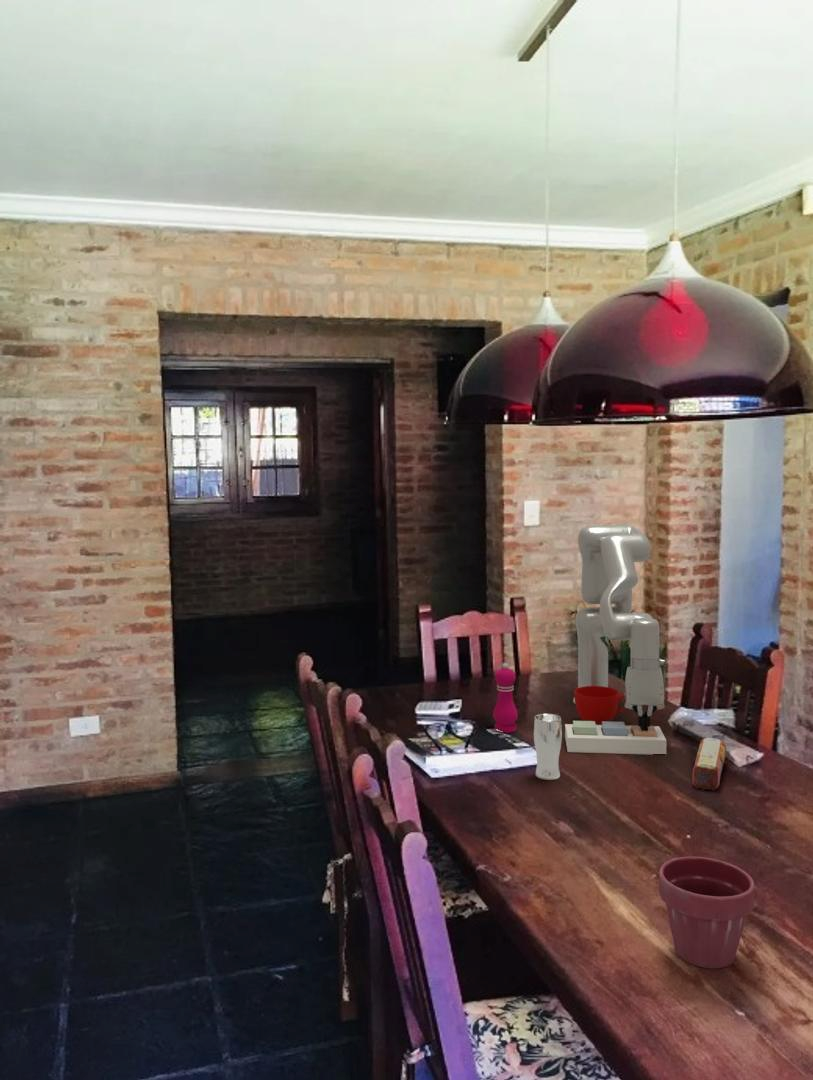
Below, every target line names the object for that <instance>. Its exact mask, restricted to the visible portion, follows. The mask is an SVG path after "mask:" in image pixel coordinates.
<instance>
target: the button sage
mask: <svg viewBox="0 0 813 1080" xmlns="http://www.w3.org/2000/svg"><path fill="white" fill-rule="evenodd" d="M572 724H573V732H574V735H597V727H596V724H595V721H583V720H572Z"/></svg>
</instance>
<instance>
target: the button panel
mask: <svg viewBox="0 0 813 1080" xmlns="http://www.w3.org/2000/svg"><path fill="white" fill-rule="evenodd" d="M625 726H626V728H627V736H604V735H603V732H602V725H596V727H597V735H574V732H573V723H572V724H571V723H564V739H565V743H566V744H565V746H566V750H567V752H568V753H585V754H586V753H589V754H621V755H622V754H624V755H625V754H626V755H627V754H628V755H653V754H666V755H667V739H666V737H665V735H664V733H663V731H662V729H661V727H660V726H659V725H658V726H657V725H655V726H654V725H653V726H654V728H655V730H656V732H657V737H642V736H633V735H632V732H631V725H625Z"/></svg>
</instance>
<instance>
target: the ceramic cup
mask: <svg viewBox="0 0 813 1080" xmlns="http://www.w3.org/2000/svg"><path fill="white" fill-rule="evenodd" d="M573 695H574V697H575V703H574V705H575V709H576V712H577V714H578V716H579V718H580V719H581V721H595V724H596V725H602V721H607V722H612V720H613V719H614V718H615V716H616V715H617V714H620V713H622V712H623V713H624V711H626V710H628V708H625V706H624V707H623V708H620V709H618V705H619V703H620V701H621V700H622V699H623V698H624V699H625V694H621V695H620V693H619V691H618V690H617V689H615V688H611V687H609V686H608V687H603V686H584V687H579V688H578V687H577V688H575V689H574V694H573Z"/></svg>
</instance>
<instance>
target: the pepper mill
mask: <svg viewBox="0 0 813 1080" xmlns="http://www.w3.org/2000/svg"><path fill="white" fill-rule="evenodd" d="M501 667H502V668H500V669H498V670H497V671H496V672H495V676H494V680H495V682H496V683H497V684H496V690H497V692H498V693H497V694H498V695H497V696H498V697H497V701H496V705H495V706H494V709H493V713H492V714H493V716H492V717H493V719H494V720H495V723H494V730H495V729H498V730H500V731H503V732H505V733H504V734H509V733H510V734H512V733H515V732H516V731H517V723H515V722H516V721H517V720H518V717H519V715H518V714H519V713H518V710H517V707H516V705H515V702H514V698H513V691H514V687H515V684H514V683H515V681H516V679H517V677H516V674H515V671H514V670H513V669H511V668H509V664H508V663H505V662H503V664H501Z"/></svg>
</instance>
